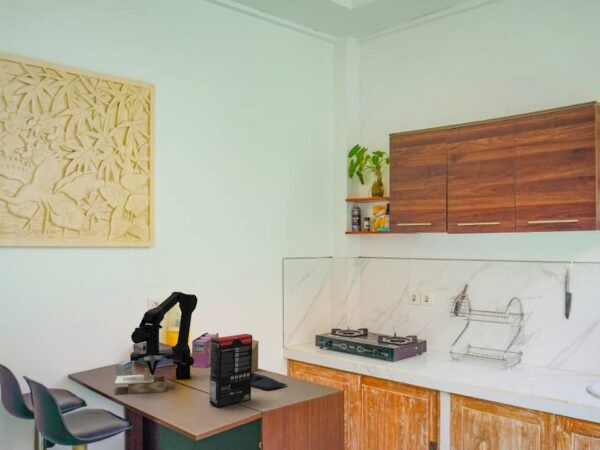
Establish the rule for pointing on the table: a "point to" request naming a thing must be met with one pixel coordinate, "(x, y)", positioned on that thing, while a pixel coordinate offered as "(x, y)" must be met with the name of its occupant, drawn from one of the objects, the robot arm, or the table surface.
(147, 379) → the lid
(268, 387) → the dark slate chunk
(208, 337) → the gum box
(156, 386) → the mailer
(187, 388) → the table surface
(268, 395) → the table surface
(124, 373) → the medicine box
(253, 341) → the sandwich container
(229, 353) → the graphics card box
